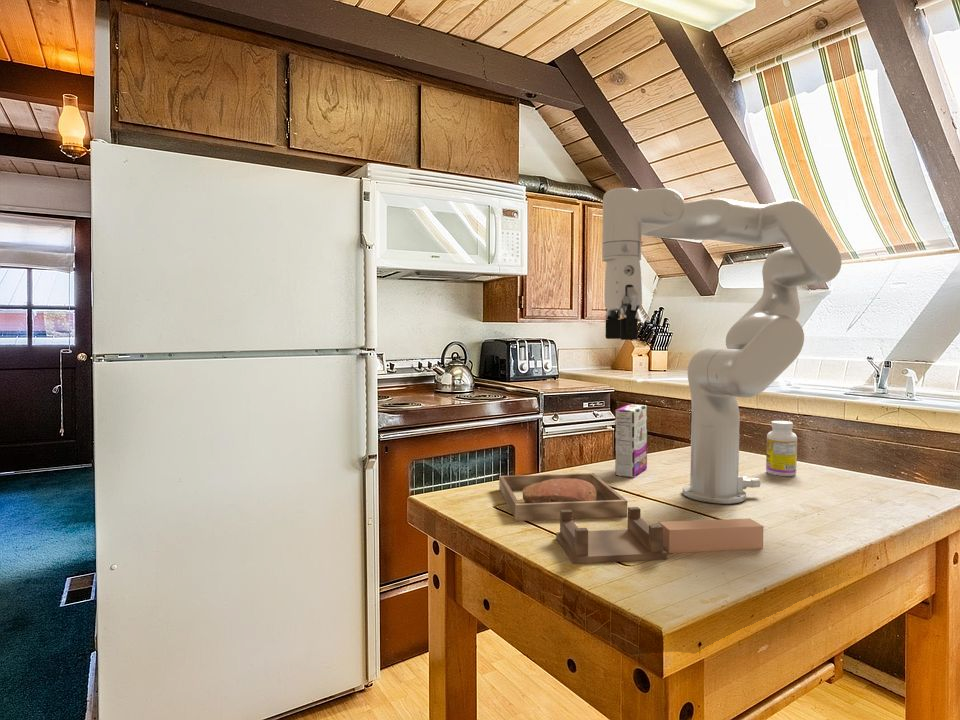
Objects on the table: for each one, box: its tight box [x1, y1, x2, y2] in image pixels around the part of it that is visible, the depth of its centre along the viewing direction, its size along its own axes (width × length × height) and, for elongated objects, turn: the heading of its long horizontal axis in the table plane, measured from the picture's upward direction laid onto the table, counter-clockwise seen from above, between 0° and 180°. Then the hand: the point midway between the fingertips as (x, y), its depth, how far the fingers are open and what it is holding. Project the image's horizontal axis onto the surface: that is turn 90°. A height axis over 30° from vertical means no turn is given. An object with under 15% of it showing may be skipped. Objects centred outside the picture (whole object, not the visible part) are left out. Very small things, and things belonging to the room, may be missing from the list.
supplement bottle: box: [765, 420, 798, 477], centre depth 144 cm, size 7×7×13 cm
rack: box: [555, 506, 668, 565], centre depth 96 cm, size 15×11×5 cm
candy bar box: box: [614, 403, 648, 479], centre depth 146 cm, size 11×5×16 cm, turn 148°
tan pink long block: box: [658, 518, 764, 554], centre depth 97 cm, size 16×4×4 cm, turn 96°
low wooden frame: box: [498, 472, 628, 522], centre depth 122 cm, size 22×22×3 cm
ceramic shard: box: [521, 478, 598, 503], centre depth 121 cm, size 15×6×15 cm
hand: (620, 339), depth 117 cm, fingers open, 9 cm apart
